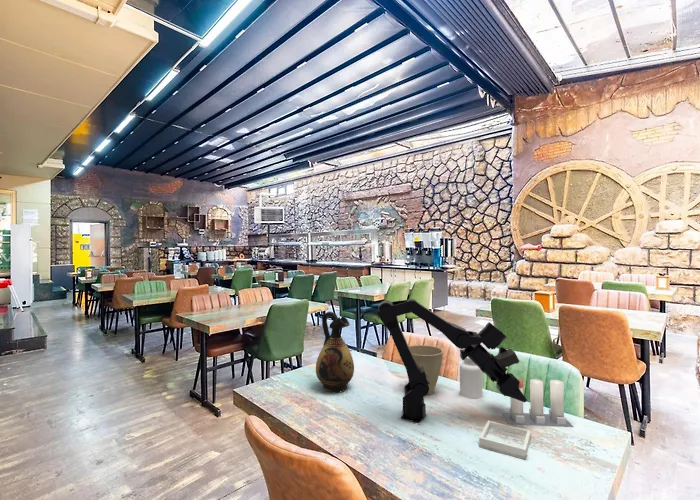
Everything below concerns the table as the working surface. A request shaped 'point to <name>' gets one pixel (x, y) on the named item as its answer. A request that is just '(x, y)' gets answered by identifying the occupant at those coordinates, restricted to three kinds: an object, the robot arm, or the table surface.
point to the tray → (505, 447)
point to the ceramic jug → (334, 356)
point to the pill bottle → (470, 379)
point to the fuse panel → (536, 407)
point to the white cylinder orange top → (517, 404)
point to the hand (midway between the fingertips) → (520, 395)
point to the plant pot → (428, 362)
